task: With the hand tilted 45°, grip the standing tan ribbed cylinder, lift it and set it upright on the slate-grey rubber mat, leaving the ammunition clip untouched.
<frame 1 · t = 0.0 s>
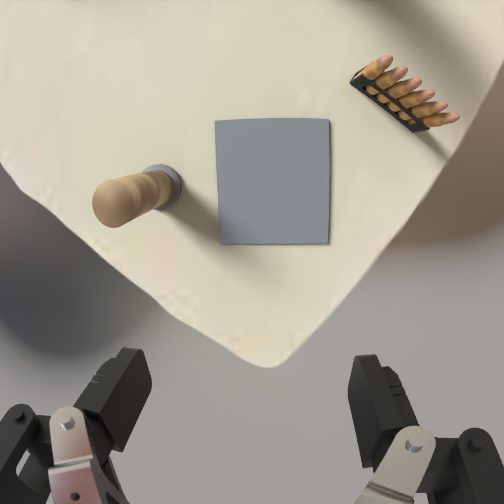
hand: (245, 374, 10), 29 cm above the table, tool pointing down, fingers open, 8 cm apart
ammunition clip: (385, 102, 32), on the table
tan ribbed cylinder: (160, 186, 38), on the table
slate mat: (273, 181, 37), on the table
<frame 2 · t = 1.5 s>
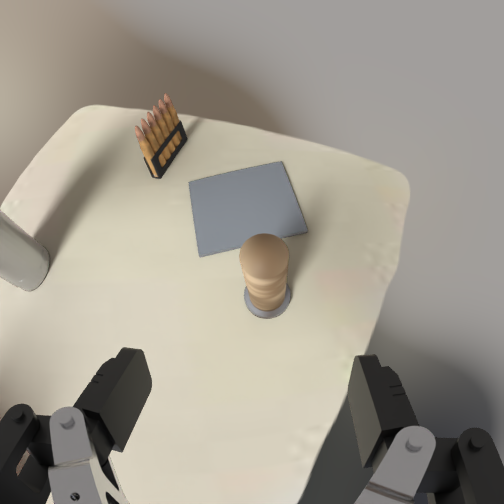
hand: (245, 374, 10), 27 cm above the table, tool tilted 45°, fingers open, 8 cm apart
ammunition clip: (170, 158, 52), on the table
tan ribbed cylinder: (267, 296, 39), on the table
slate mat: (243, 205, 46), on the table
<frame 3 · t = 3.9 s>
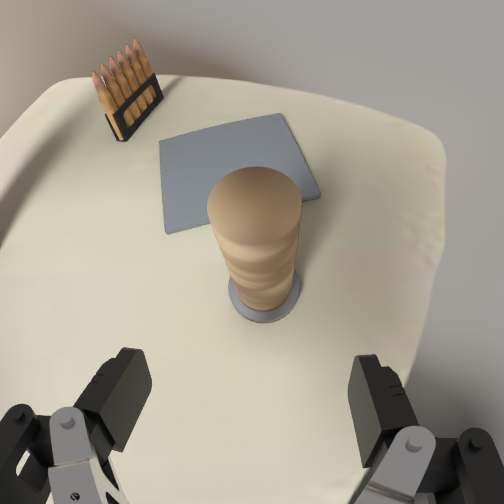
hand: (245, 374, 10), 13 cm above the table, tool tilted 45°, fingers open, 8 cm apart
ammunition clip: (141, 118, 39), on the table
tan ribbed cylinder: (264, 289, 26), on the table
slate mat: (230, 165, 32), on the table
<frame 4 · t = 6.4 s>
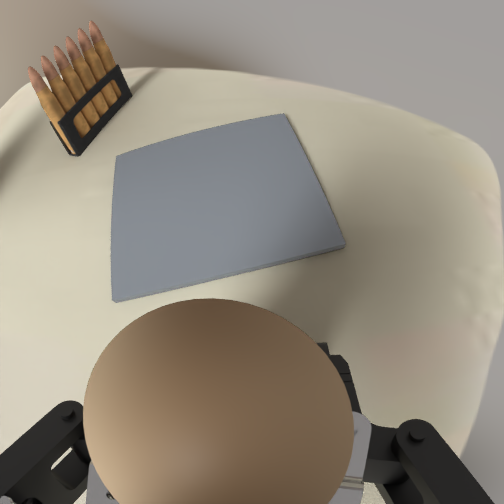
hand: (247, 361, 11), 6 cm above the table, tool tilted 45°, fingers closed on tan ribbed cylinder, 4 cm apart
ammunition clip: (102, 124, 29), on the table
tan ribbed cylinder: (255, 401, 16), on the table, touching gripper
slate mat: (209, 193, 22), on the table
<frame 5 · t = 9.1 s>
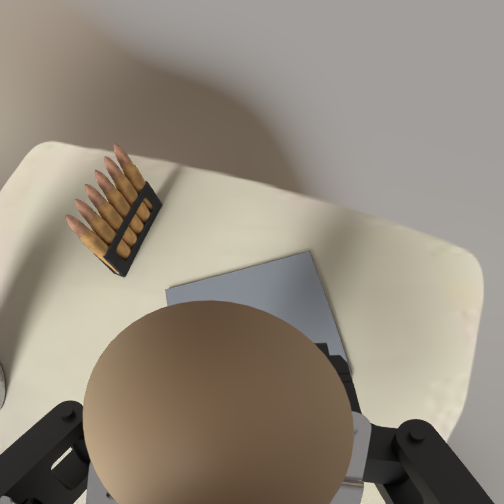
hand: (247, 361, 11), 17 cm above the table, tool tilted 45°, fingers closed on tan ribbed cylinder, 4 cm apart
ammunition clip: (138, 238, 35), on the table
tan ribbed cylinder: (256, 401, 15), point 12 cm above the table, touching gripper
slate mat: (253, 335, 29), on the table
when the fingers open (7 cm above the table, at t = 11.9 s): tan ribbed cylinder stays where it is, resting on slate mat.
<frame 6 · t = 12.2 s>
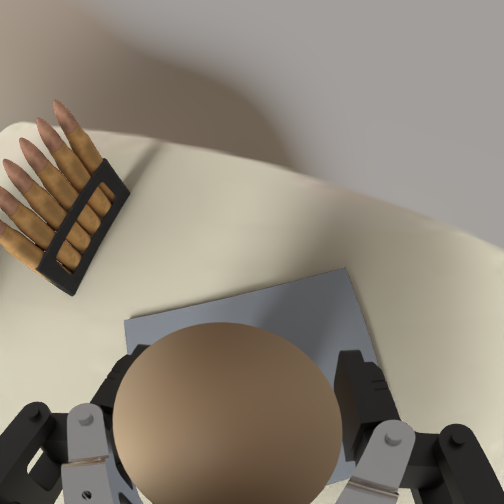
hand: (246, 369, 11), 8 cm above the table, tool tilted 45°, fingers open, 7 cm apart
ammunition clip: (95, 240, 24), on the table
tan ribbed cylinder: (257, 401, 16), point 1 cm above the table, touching slate mat
slate mat: (257, 399, 17), on the table
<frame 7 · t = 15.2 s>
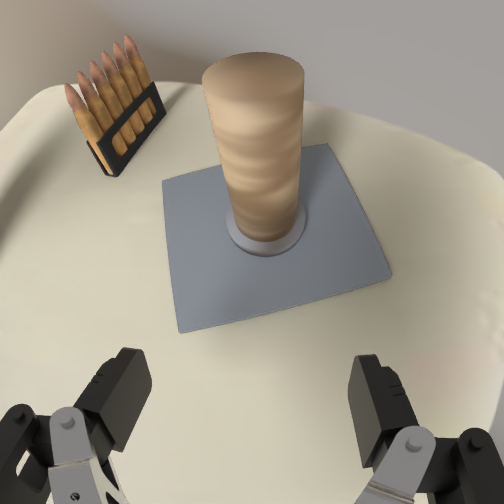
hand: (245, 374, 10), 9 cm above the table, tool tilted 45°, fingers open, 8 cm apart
ammunition clip: (137, 142, 30), on the table
tan ribbed cylinder: (266, 222, 23), point 1 cm above the table, touching slate mat
slate mat: (265, 224, 24), on the table
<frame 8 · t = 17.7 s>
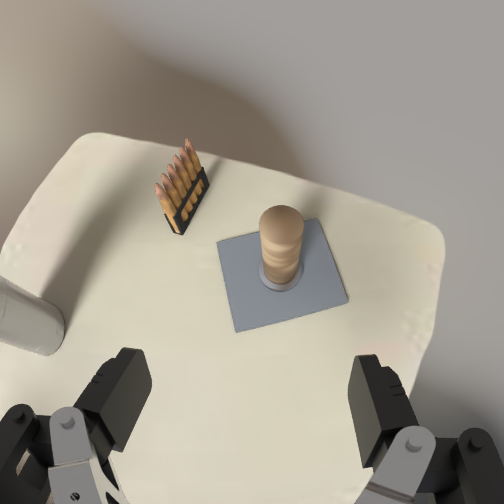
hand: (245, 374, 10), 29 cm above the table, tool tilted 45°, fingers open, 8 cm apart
ammunition clip: (192, 208, 49), on the table
tan ribbed cylinder: (280, 271, 42), point 1 cm above the table, touching slate mat
slate mat: (280, 272, 43), on the table
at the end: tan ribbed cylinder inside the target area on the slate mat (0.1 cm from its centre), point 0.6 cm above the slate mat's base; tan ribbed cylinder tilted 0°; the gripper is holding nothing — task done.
